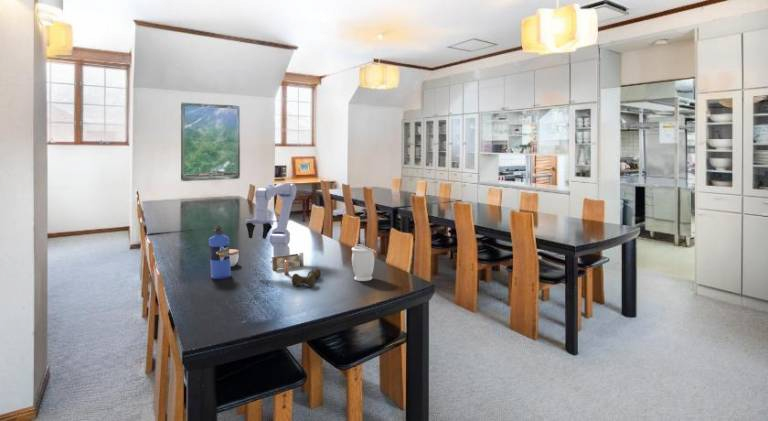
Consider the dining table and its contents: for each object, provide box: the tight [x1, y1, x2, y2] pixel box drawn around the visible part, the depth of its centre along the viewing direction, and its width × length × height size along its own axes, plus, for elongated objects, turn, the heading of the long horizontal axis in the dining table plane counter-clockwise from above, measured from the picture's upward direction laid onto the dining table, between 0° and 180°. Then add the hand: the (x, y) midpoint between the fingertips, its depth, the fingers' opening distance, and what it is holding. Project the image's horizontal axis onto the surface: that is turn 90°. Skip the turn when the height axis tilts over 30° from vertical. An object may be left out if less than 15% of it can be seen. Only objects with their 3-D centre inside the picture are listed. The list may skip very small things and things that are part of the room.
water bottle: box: [208, 224, 232, 280], centre depth 218 cm, size 9×9×25 cm
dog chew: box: [291, 267, 322, 288], centre depth 205 cm, size 6×10×20 cm
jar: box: [351, 245, 375, 282], centre depth 211 cm, size 11×10×15 cm
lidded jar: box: [229, 248, 240, 268], centre depth 240 cm, size 11×11×9 cm
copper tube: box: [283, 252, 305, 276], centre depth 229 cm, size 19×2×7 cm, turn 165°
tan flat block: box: [271, 253, 300, 271], centre depth 233 cm, size 14×2×7 cm, turn 120°
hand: (257, 238), depth 224 cm, fingers open, 7 cm apart
